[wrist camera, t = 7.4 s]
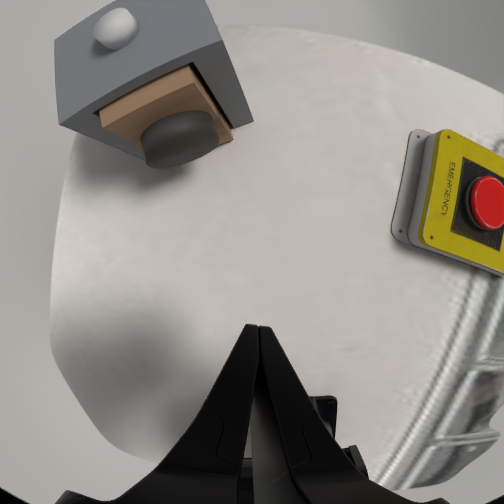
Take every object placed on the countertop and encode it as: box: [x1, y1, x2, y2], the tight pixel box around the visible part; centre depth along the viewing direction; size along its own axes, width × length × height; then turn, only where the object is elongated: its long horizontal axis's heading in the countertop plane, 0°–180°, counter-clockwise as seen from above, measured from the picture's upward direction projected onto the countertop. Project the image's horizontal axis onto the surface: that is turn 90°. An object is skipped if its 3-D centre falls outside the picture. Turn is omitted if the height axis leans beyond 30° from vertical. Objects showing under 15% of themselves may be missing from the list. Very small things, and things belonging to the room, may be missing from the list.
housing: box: [54, 0, 254, 160], centre depth 16 cm, size 6×9×13 cm
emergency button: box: [391, 129, 504, 278], centre depth 19 cm, size 9×4×15 cm
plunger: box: [99, 62, 234, 168], centre depth 17 cm, size 6×5×10 cm
